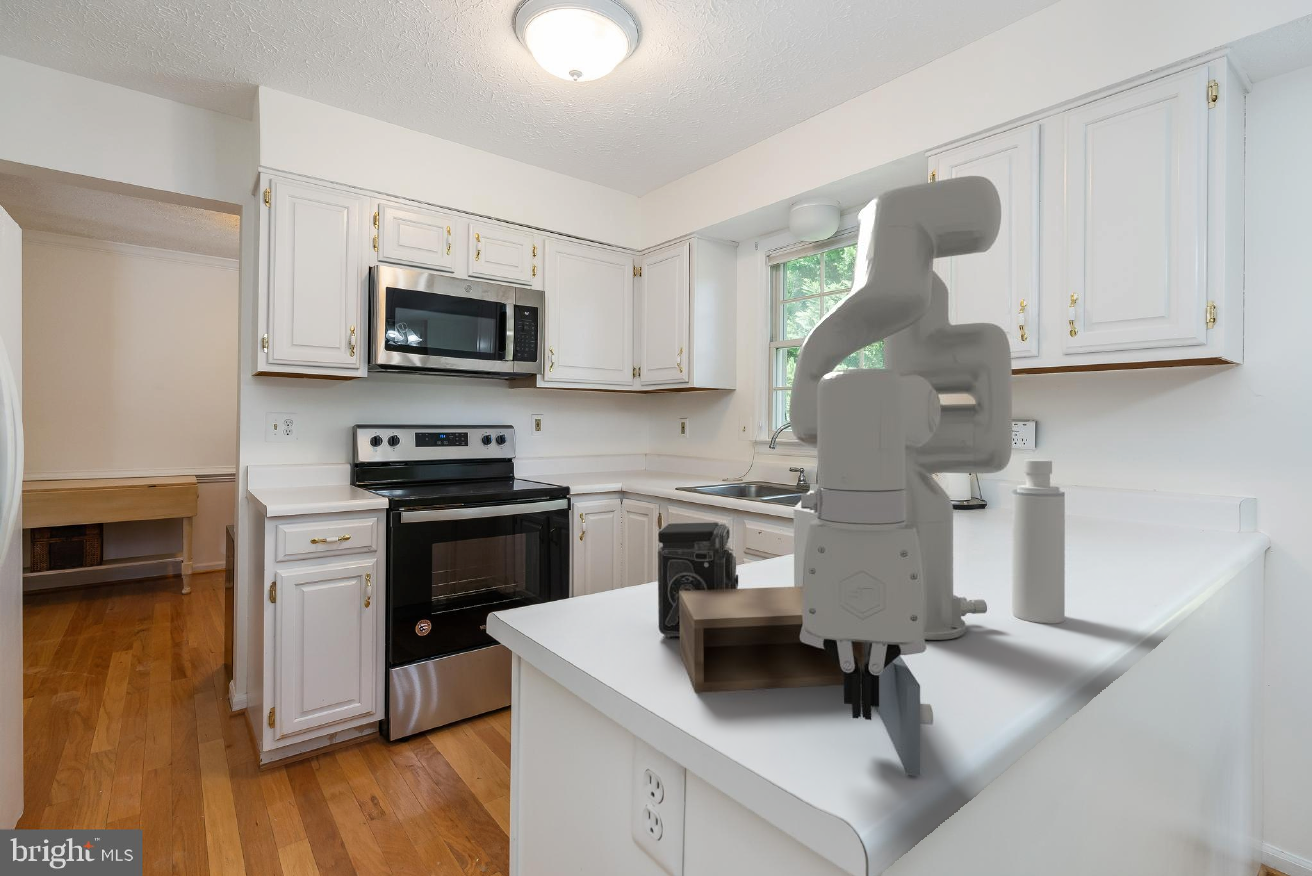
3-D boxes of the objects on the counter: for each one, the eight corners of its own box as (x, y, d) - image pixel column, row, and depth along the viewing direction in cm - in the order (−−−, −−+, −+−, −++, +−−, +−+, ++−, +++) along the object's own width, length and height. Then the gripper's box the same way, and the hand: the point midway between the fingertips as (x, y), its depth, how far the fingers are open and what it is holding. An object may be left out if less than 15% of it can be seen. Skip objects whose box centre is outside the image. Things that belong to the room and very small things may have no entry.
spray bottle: (1036, 608, 98) (1036, 448, 98) (1075, 621, 92) (1076, 449, 92) (1001, 612, 97) (1001, 449, 96) (1039, 625, 90) (1039, 450, 90)
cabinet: (830, 645, 83) (830, 585, 83) (870, 682, 71) (870, 612, 71) (679, 653, 81) (679, 590, 81) (694, 692, 69) (694, 619, 69)
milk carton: (820, 608, 100) (819, 488, 99) (793, 597, 106) (792, 484, 106) (856, 603, 103) (855, 486, 102) (827, 592, 109) (827, 482, 109)
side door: (865, 683, 70) (865, 616, 70) (888, 684, 70) (887, 617, 69) (907, 774, 52) (907, 685, 52) (938, 776, 51) (938, 686, 51)
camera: (734, 646, 83) (733, 533, 83) (656, 642, 85) (655, 531, 85) (740, 622, 93) (739, 521, 93) (670, 618, 95) (669, 519, 95)
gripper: (771, 511, 55) (772, 721, 55) (959, 516, 51) (960, 743, 51) (779, 501, 62) (780, 687, 62) (944, 505, 58) (945, 704, 58)
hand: (861, 712), depth 57 cm, fingers closed
